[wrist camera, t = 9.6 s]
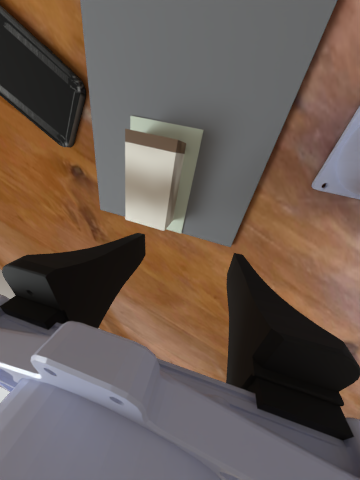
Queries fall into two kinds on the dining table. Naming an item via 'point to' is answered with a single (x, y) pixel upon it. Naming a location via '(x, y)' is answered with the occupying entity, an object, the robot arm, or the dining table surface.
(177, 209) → the pad
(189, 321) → the dining table surface
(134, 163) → the card box
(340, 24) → the dining table surface
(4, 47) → the phone
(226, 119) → the mat
